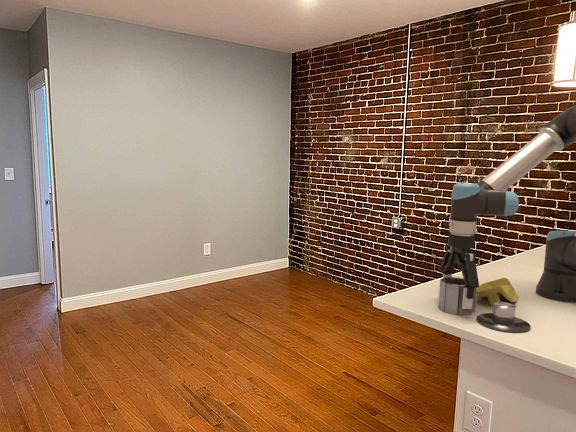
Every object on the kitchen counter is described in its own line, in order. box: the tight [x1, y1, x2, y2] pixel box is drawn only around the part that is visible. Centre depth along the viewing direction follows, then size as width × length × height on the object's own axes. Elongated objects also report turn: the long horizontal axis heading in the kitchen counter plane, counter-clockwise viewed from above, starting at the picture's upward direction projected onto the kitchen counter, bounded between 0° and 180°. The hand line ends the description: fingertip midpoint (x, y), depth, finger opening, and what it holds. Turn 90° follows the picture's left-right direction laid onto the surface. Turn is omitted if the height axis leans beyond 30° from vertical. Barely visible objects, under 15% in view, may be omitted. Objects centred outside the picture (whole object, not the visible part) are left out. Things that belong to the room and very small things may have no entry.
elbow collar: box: [437, 276, 477, 316], centre depth 136 cm, size 10×10×9 cm
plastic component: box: [476, 277, 519, 306], centre depth 146 cm, size 20×7×10 cm
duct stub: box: [475, 301, 532, 334], centre depth 125 cm, size 14×14×6 cm
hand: (456, 301), depth 136 cm, fingers open, 13 cm apart
